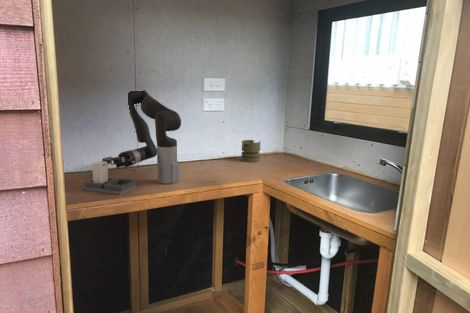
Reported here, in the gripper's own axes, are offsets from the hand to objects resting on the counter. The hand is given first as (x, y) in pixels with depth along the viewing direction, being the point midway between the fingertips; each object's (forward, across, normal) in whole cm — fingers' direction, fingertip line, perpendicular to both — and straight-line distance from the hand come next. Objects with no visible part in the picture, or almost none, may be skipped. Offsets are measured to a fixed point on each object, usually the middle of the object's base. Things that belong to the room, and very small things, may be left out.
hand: (108, 164), depth 166 cm
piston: (-77, +45, +10) cm, 90 cm away
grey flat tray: (+6, +5, +9) cm, 12 cm away
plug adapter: (+6, 0, +8) cm, 10 cm away
